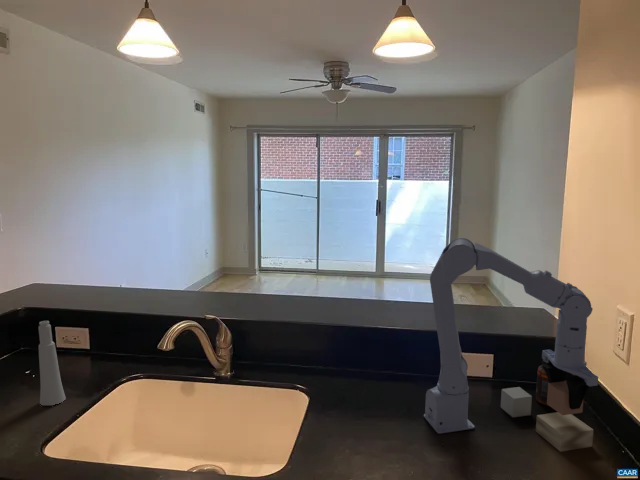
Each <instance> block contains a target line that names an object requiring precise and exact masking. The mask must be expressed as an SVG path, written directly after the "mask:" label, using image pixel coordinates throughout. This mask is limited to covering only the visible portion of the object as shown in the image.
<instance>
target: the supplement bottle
mask: <svg viewBox="0 0 640 480" xmlns="http://www.w3.org/2000/svg"><path fill="white" fill-rule="evenodd" d="M548 362H549V360H544V359H543V358H542V362H541V363H542V364H541V365H539V366H538V368H537V374H536V375H537V377H536V389H535V399H536V401H537V402H538V403H539V404H542V405H544V406H547V407H550V406H549V405H547V394H548V383H549V380H548V377H547V375H546V373H545V371H544V369H543V364H548Z"/></svg>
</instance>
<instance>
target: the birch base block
mask: <svg viewBox="0 0 640 480" xmlns="http://www.w3.org/2000/svg"><path fill="white" fill-rule="evenodd" d="M535 422H536V424H535V432H536V433H537V434H538V435H540V436H541V437H542V438H543V439H545V440H546V441H547V442H548V443H549V444H550V445H551V446H553V447H554V448H555V449H556V450H558V451H559V452H561V453H562V452H567V451H572V450H573V451H574V450H580V449H585V448H586V449H587V448H591V447H593V441H594V440H593V439H594V429H593V428H592V427H590V426H589V425H587V424H586V423H585V422H583V421H582V420H580V419H579V418H578V417H577V416H575V415H574V414H569V415H561V414H560V413H559V412H557V411H556V412H550V413H545V414H544V413H543V414H537V415H536V420H535Z"/></svg>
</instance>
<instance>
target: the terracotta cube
mask: <svg viewBox="0 0 640 480" xmlns="http://www.w3.org/2000/svg"><path fill="white" fill-rule="evenodd" d="M584 400H585V399H583V401H582V404H581V406H580V408H579V409H571V408H570V407H569V390H568V386H567V383H566V380H564V381H562V382H554V383H548V394H547V405H549V406H548V407H550V408H551V409H552V410H555V411H556V412H559V413H560V414H561V415H569V414H572V415H574V414H582V413H583V411H584ZM547 405H546V406H547Z"/></svg>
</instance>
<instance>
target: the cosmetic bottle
mask: <svg viewBox="0 0 640 480" xmlns="http://www.w3.org/2000/svg"><path fill="white" fill-rule="evenodd" d="M38 337H39V344H38V360H39V361H38V362H39V375H40V376H39V377H40V378H39V379H40V381H39V382H40V394H39V395H40V396H39V405H40V404H41V405H55V404H59V403H61V402H62V403H64V402H65V401H64V400H66V398H67V397H66V394H65V391H64V388H63V384H62V379H61V373H60V367H59V362H58V355H57V349H56V343H55V342H54V341H53V334H52V325H51V324H50V321H49V320H42V321H39V323H38ZM63 401H64V402H63ZM62 403H61V404H62ZM41 405H40V406H41ZM59 405H60V404H59Z"/></svg>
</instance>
